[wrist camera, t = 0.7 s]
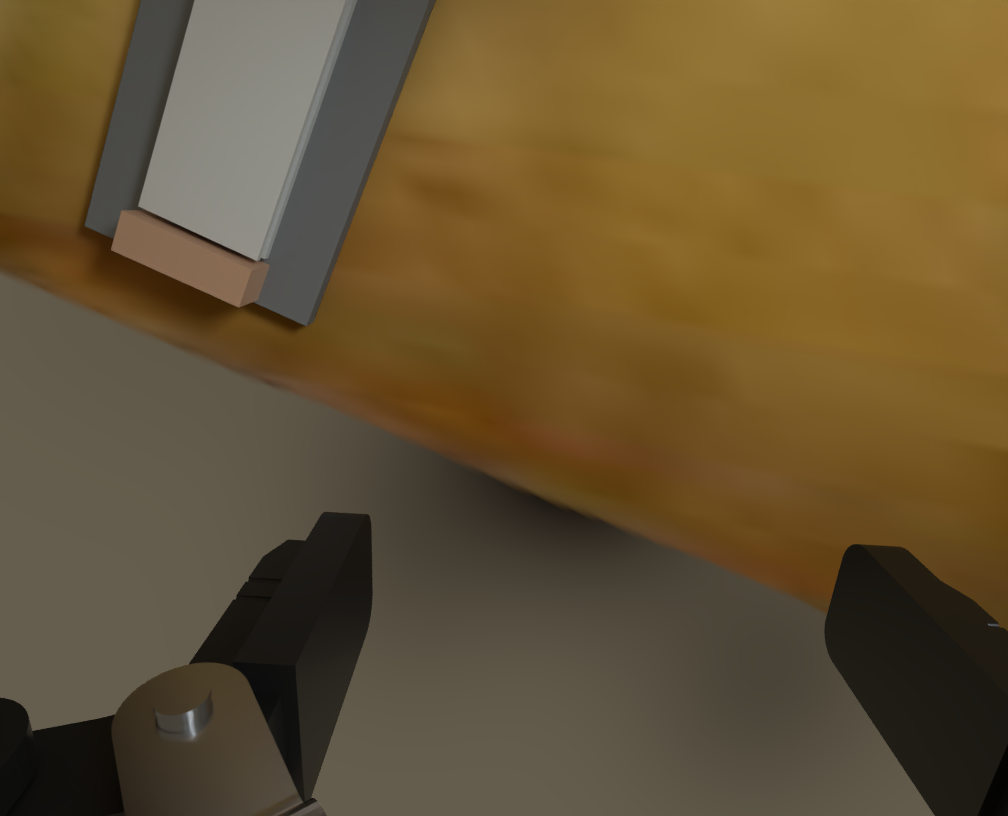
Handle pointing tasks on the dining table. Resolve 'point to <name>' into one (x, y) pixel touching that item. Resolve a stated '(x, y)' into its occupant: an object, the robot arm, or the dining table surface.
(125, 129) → the rail board
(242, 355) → the dining table surface
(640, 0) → the dining table surface
